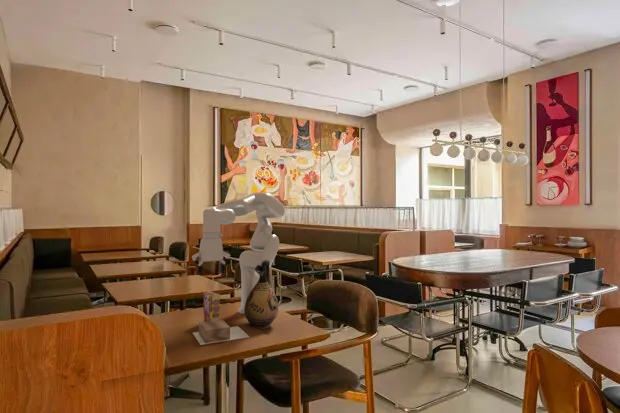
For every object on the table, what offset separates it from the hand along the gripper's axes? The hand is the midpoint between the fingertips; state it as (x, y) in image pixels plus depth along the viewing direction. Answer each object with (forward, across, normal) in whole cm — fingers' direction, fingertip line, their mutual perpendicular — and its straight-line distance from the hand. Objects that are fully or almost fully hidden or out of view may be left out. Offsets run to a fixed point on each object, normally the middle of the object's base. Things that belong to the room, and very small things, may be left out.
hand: (211, 273), depth 181 cm
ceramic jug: (+24, -21, +9) cm, 34 cm away
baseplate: (+24, 0, +16) cm, 29 cm away
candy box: (+24, 0, 0) cm, 24 cm away
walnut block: (+23, +3, +17) cm, 29 cm away
